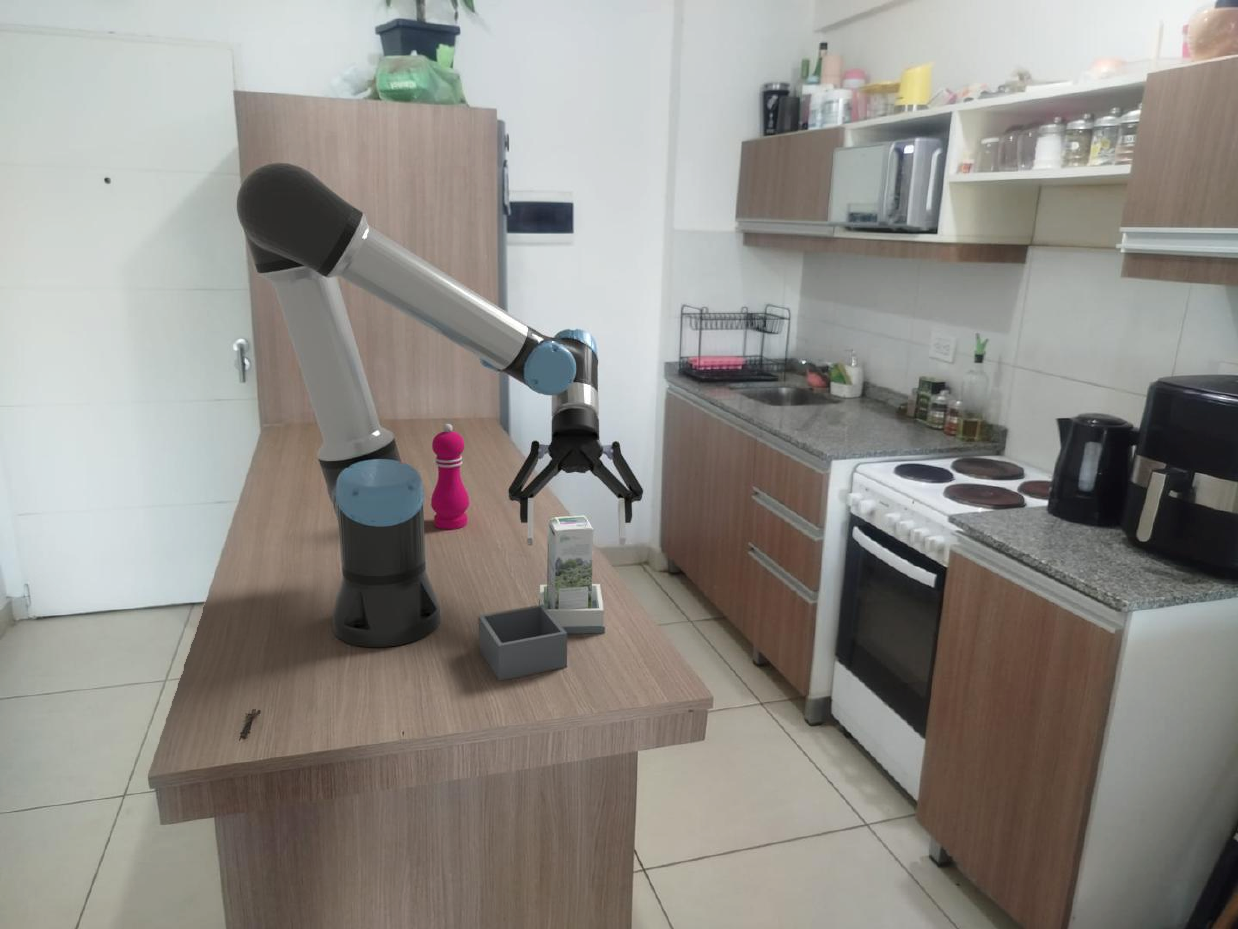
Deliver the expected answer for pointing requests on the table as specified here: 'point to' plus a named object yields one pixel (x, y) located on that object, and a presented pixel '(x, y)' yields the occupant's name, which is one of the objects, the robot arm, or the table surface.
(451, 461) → the pepper mill
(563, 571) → the syrup box
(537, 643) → the deep sleeve
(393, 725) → the table surface
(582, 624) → the low tray
